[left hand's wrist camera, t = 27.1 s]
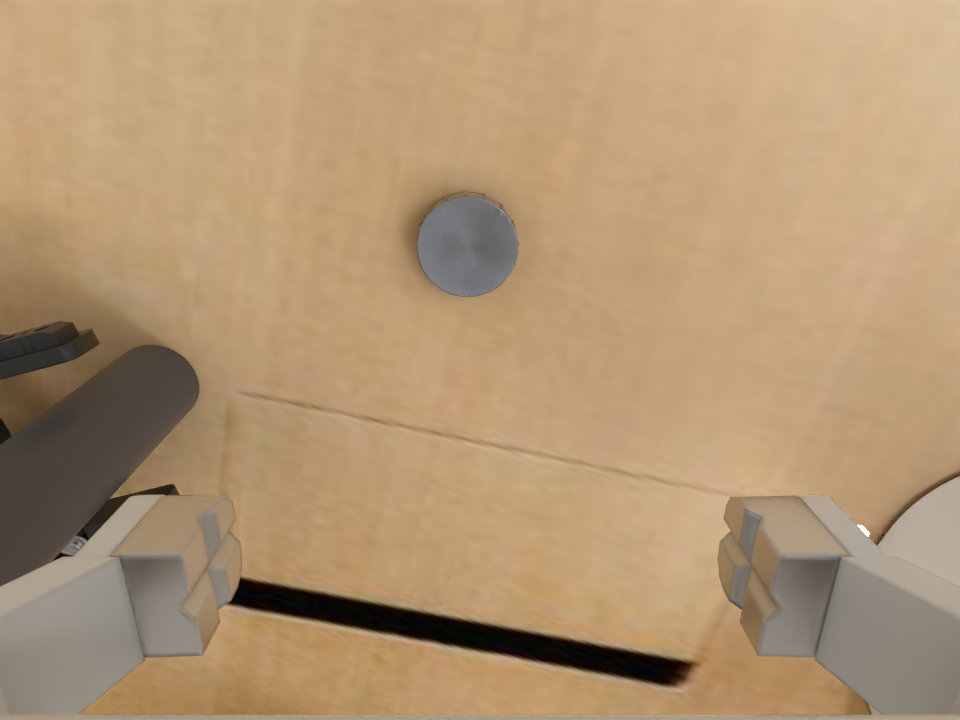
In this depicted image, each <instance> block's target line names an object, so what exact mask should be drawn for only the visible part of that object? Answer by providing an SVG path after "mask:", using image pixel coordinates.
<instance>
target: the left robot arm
mask: <svg viewBox="0 0 960 720" xmlns="http://www.w3.org/2000/svg"><path fill="white" fill-rule="evenodd" d="M235 520H236V515H235V510H234V506H233V501H232V500H231V499H230V498H229V497H227V496H197V495H167V496H166V495H135V496H132V497H129V498H128V499H127V500H126V501H125V502H124V503H123V504H122V505H121V507H120V508H119V509H118V510H117V511H116V512H115V513H114V514H113V515H112V516H111V517H110V518H109V519H108V520H107V521H106V522H105V523H104V525H103V526H102V527H101V528H100V529H99V530H98V531H97V532H96V533H95V534H94V535H93V536H92V537H91V538H90V539H89V540H88V541H87V543H86V544H85V545H84V546H83V547H82V548H81V549H80V550H79V551H78V552H77V553H76V554H75V555H74V556H73V557H61V558H59V559H57V560H55V561H53V562H51V563H49V564H46V565H44V566H42V567H40V568H38V569H36V570H34V571H32V572H30V573H28V574H25V575H23V576H21V577H19V578H17V579H15V580H13V581H11V582H9V583H7V584H4V585H2V586H0V720H960V476H959V477H956V478H954V479H952V480H950V481H948V482H946V483H944V484H942V485H941V486H939V487H937V488H936V489H934V490H932V491H931V492H929V493H928V494H926V495H925V496H924V497H922V498H921V499H919V500H918V501H917V502H916V503H914V504H913V505H912V506H911V507H910V508H909V509H908V510H907V511H905V512H904V513H903V514H902V515H901V516H900V518H899V519H898V520H897V521H896V522H895V523H894V524H893V525H892V527H891V528H890V529H889V531H888V532H887V533H886V535H885V536H884V537H883V539H882V540H881V541H880V543H879V544H878V545H877V546H876V545H875V544H874V542H873V541H872V540H871V539H870V538H869V537H868V536H869V534H870V533H869V532H868V531H867V530H866V529H865V528H864V527H863V526H861V525H857V524H856V523H855V522H854V521H853V520H852V519H851V518H850V517H849V516H848V515H847V514H846V513H845V512H844V511H843V510H842V509H841V507H840V506H839V505H838V504H837V503H836V502H835V501H834V500H833V499H832V498H831V497H828V496H826V495H824V494H817V495H792V496H758V497H730V499H729V501H728V503H727V505H726V509H725V515H724V520H725V522H726V523H727V525H728V527H729V528H730V530H731V531H730V532H729V533H728V534H727V535H726V536H725V537H724V538H723V539H722V540H721V541H720V545H719V553H718V568H719V577H720V580H721V584H722V587H723V590H724V592H725V594H726V596H727V598H728V600H729V601H730V602H732V603H733V604H735V605H736V606H737V607H739V608H740V609H742V613H741V619H740V623H741V625H742V627H743V629H744V631H745V632H746V634H747V636H748V638H749V640H750V642H751V644H752V646H753V647H754V649H755V651H756V653H757V655H758V656H785V657H816V658H815V660H816V661H817V662H818V663H819V664H821V665H822V666H823V667H824V668H825V669H827V670H828V671H829V672H830V673H832V674H833V675H834V676H835V677H836V678H838V679H839V680H840V681H841V682H843V683H844V684H845V685H846V686H847V687H849V688H850V689H851V690H852V691H854V692H855V693H856V694H857V695H859V696H860V697H861V698H862V699H863V700H865V701H866V702H867V703H868V704H869V708H870V711H871V714H872V715H78V714H80V713H81V712H82V711H83V710H85V709H86V708H87V707H88V706H89V705H91V704H92V703H93V702H94V701H96V700H97V699H98V698H99V697H100V696H102V695H103V694H104V693H105V692H107V691H108V690H109V689H110V688H112V687H113V686H114V685H115V684H116V683H118V682H119V681H120V680H121V679H123V678H124V677H125V676H126V675H127V674H129V673H130V672H131V671H132V670H134V669H135V668H136V667H137V666H138V665H140V664H141V663H142V662H143V661H145V658H144V657H174V656H202V655H203V653H204V651H205V650H206V648H207V646H208V644H209V642H210V640H211V638H212V636H213V634H214V632H215V631H216V629H217V627H218V625H219V623H220V619H219V613H218V609H220V608H221V607H223V606H224V605H226V604H227V603H228V602H230V601H231V600H232V598H233V596H234V594H235V592H236V590H237V588H238V584H239V579H240V575H241V571H242V551H241V545H240V541H239V540H238V539H237V538H236V537H235V536H234V535H233V534H232V533H231V532H230V531H229V530H230V528H231V527H232V525H233V523H234V522H235Z"/></svg>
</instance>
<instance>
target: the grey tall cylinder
mask: <svg viewBox="0 0 960 720" xmlns="http://www.w3.org/2000/svg"><path fill="white" fill-rule="evenodd" d="M198 393H199V385H198V380H197V376H196V374H195V372H194V370H193V368H192V367H191V366H190V364H189V363H188V362H187V361H186V360H185V359H184V358H183V357H182V356H180V355H179V354H177V353H176V352H174V351H172V350H170V349H167V348H164V347H160V346H150V345H148V346H141V347H137V348H134V349H132V350H130V351H129V352H127V353H126V354H124V355H123V356H122V357H120V358H119V359H118V360H116V361H115V362H113V363H112V364H111V365H109V366H108V367H107V368H105V369H104V370H102V371H101V372H100V373H98V374H97V375H96V376H94V377H93V378H91V379H90V380H89V381H87V382H86V383H85V384H83V385H82V386H80V387H79V388H78V389H76V390H75V391H73V392H72V393H71V394H69V395H68V396H67V397H65V398H64V399H62V400H61V401H60V402H58V403H57V404H56V405H54V406H53V407H51V408H50V409H49V410H47V411H46V412H45V413H43V414H42V415H40V416H39V417H38V418H36V419H35V420H34V421H32V422H31V423H29V424H28V425H27V426H25V427H24V428H23V429H21V430H20V431H18V432H17V433H16V434H14V435H13V436H12V437H10V438H9V439H7V440H6V441H5V442H3V443H2V444H1V445H0V586H2V585H4V584H7V583H9V582H11V581H13V580H15V579H17V578H19V577H21V576H23V575H25V574H28V573H30V572H32V571H34V570H36V569H38V568H40V567H42V566H44V565H46V564H49V563H51V562H52V561H53V560H54V559H55V558H56V556H57V555H58V554H59V553H60V552H61V551H62V550H63V549H64V548H65V547H66V545H67V544H68V543H69V542H70V541H71V540H72V539H73V538H74V537H75V536H76V534H77V533H78V532H79V531H80V530H81V529H82V528H83V527H84V526H85V525H86V523H87V522H88V521H89V520H90V519H91V518H92V517H93V516H94V515H95V514H96V513H97V511H98V510H99V509H100V508H101V507H102V506H103V505H104V504H105V503H106V502H107V500H108V499H109V498H110V497H111V496H112V495H113V494H114V493H115V492H116V491H117V489H118V488H119V487H120V486H121V485H122V484H123V483H124V482H125V481H126V480H127V478H128V477H129V476H130V475H131V474H132V473H133V472H134V471H135V470H136V469H137V468H138V466H139V465H140V464H141V463H142V462H143V461H144V460H145V459H146V458H147V457H148V455H149V454H150V453H151V452H152V451H153V450H154V449H155V448H156V447H157V446H158V444H159V443H160V442H161V441H162V440H163V439H164V438H165V437H166V436H167V435H168V433H169V432H170V431H171V430H172V429H173V428H174V427H175V426H176V425H177V424H178V422H179V421H180V420H181V419H182V418H183V417H184V416H185V415H186V414H187V413H188V412H189V410H190V409H191V408H192V407H193V406H194V404H195V402H196V400H197V397H198Z"/></svg>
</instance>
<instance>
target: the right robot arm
mask: <svg viewBox="0 0 960 720" xmlns="http://www.w3.org/2000/svg"><path fill="white" fill-rule="evenodd" d="M99 344H100V343H99V341H98V339H97V337H96V336H95V334H94V332H93V330H92V329H87V330H83V331H79V332H78V331H77V329H76V327H75V326H74V324H73V323H71V322H62V321H59V322H55V323H52V324H48V325H44V326H41V327H37V328H33V329H30V330H26V331H22V332H18V333H15V334H11V335H0V391H1V390H2V388H3V386H4V384H5V382H3V381H2V380H3V379H5V378H9V377H12V376H16V375H20V374H24V373H27V372H31V371H35V370H39V369H43V368H46V367H50V366H54V365H58V364H61V363H65V362H68V361H71V360H74V359H76V358H78V357H80V356H82V355H83V354H85V353H86V352H88V351H89V350H91V349H93V348H94V347H96V346H97V345H99ZM10 437H11V434H10V432H9V430H8V429H7V427H6V425H5V424H4V422H3V421H2V419H0V445H1V444H2V443H3V442H5V441H6V440H7V439H9V438H10ZM135 495H166V496H167V495H179V493H178V491H177V489H176V487H175V485H173V484H170V485H166V486H161V487H157V488H153V489H149V490H145V491H141V492H137V493H133V494H129V495H125V496H120V497H116V498H112V499H108V500H107V502H106V503H105V504H104V505H103V506H102V507H101V508H100V509H99V510H98V511H97V513H96V514H95V515H94V516H93V517H92V518H91V519H90V520H89V521H88V522H87V523H86V525H85V526H84V527H83V528H82V529H81V530H80V531H79V532H78V533H77V534H76V536H75V537H74V538H73V539H72V540H71V541H70V542H69V543H68V544H67V545H66V547H65V548H64V549H63V550H62V551H61V552H60V553H59V554H58V555H57V556H56V558H55V559H54V560H53V561H55V560H57V559H59V558H61V557H73V556H74V555H75V554H76V553H77V552H78V551H79V550H80V549H81V548H82V547H83V546H84V545H85V544H86V543H87V541H88V540H89V539H90V538H91V537H92V536H93V535H94V534H95V533H96V532H97V531H98V530H99V529H100V528H101V527H102V526H103V525H104V523H105V522H106V521H107V520H108V519H109V518H110V517H111V516H112V515H113V514H114V513H115V512H116V511H117V510H118V509H119V508H120V507H121V505H122V504H123V503H124V502H125V501H126V500H127V499H128V498H129V497H132V496H135ZM53 561H52V562H53Z"/></svg>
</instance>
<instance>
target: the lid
mask: <svg viewBox="0 0 960 720" xmlns="http://www.w3.org/2000/svg"><path fill="white" fill-rule="evenodd" d="M514 227H515V224H514V222H513V220H512V221H511V219H510V217H509V216H508V214H507V212H506V211H505V210H504V207H503V205H502V204H501V205H499V204H498V203H497V202H496V201H494V200H493V199H491V198H489V197H487V195H486V194H484V195H482V194H478V193H472V192H467V191H465V192H462V193H456V194H453V195H450V196H448V195H446V196H445V198H443V199H442V200H440V201H439V202H438V203H436V204H435V205H434V206H433V207H432V206H431V207H430V208H429V211H428V213H427V215H426V217H425V219H424V221H423V223H421V224H420V226H419V230H420V231H419V235H418V240H417V246H416V249H417V253H418V258H419V262H420V265H421V268H422V269H423V271H424V273H425V274H426V276H427V277H428V278H429V279H430V281H431V282H432V283H433V284H435V285H436V286H437V287H438V288H440V289H441V290H443V291H445V292H447V293H450V294H452V295H456V296H462V297H473V296H479V295H483V294H486V293H488V292H490V291H492V290H494V289H495V288H497V287H498V286H499V285H501V284H502V283H503V282H504V281H505V280H506V279H507V277H508V276H509V275H510V273H511V271H512V269H513V267H514V265H515V262H516V258H517V252H518V246H519V243H518V240H517V236H516V232H515V229H514Z"/></svg>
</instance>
